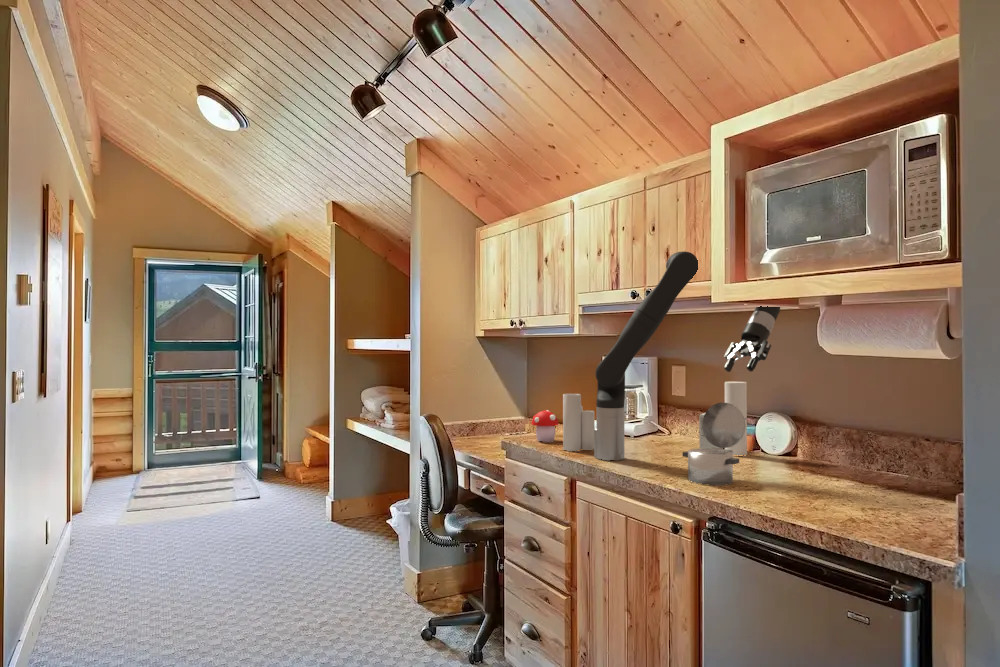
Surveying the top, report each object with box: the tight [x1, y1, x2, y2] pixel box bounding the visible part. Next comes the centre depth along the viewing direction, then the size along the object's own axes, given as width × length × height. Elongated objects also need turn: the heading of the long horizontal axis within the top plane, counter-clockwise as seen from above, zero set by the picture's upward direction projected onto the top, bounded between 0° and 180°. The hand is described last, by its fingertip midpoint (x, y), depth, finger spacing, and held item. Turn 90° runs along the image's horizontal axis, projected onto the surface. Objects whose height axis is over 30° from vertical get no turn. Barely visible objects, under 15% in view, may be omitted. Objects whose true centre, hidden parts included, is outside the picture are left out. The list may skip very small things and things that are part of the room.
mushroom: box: [530, 409, 559, 443], centre depth 253 cm, size 11×11×12 cm
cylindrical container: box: [724, 381, 748, 456], centre depth 223 cm, size 7×7×25 cm
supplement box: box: [698, 412, 723, 449], centre depth 235 cm, size 7×7×13 cm
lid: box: [702, 402, 745, 449], centre depth 188 cm, size 13×13×3 cm
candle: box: [562, 393, 596, 452], centre depth 234 cm, size 11×7×20 cm, turn 107°
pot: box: [682, 448, 740, 486], centre depth 183 cm, size 16×14×8 cm
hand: (737, 370), depth 197 cm, fingers open, 8 cm apart
